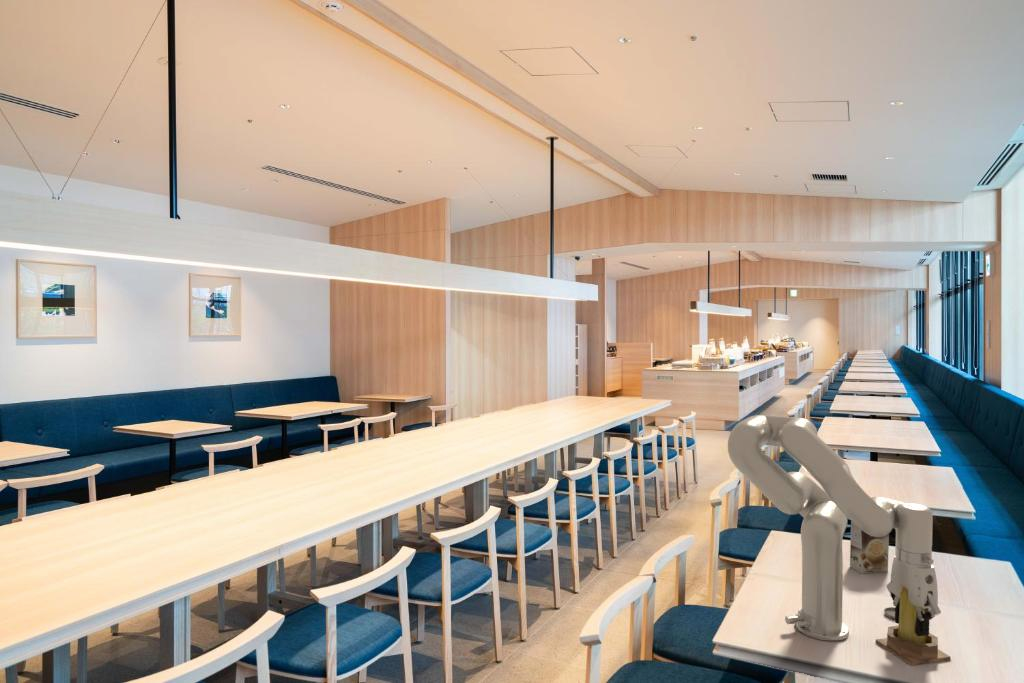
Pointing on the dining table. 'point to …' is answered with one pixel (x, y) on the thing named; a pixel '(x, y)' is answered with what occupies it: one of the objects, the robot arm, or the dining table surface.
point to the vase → (908, 620)
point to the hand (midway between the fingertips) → (911, 628)
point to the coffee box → (868, 551)
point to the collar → (913, 648)
